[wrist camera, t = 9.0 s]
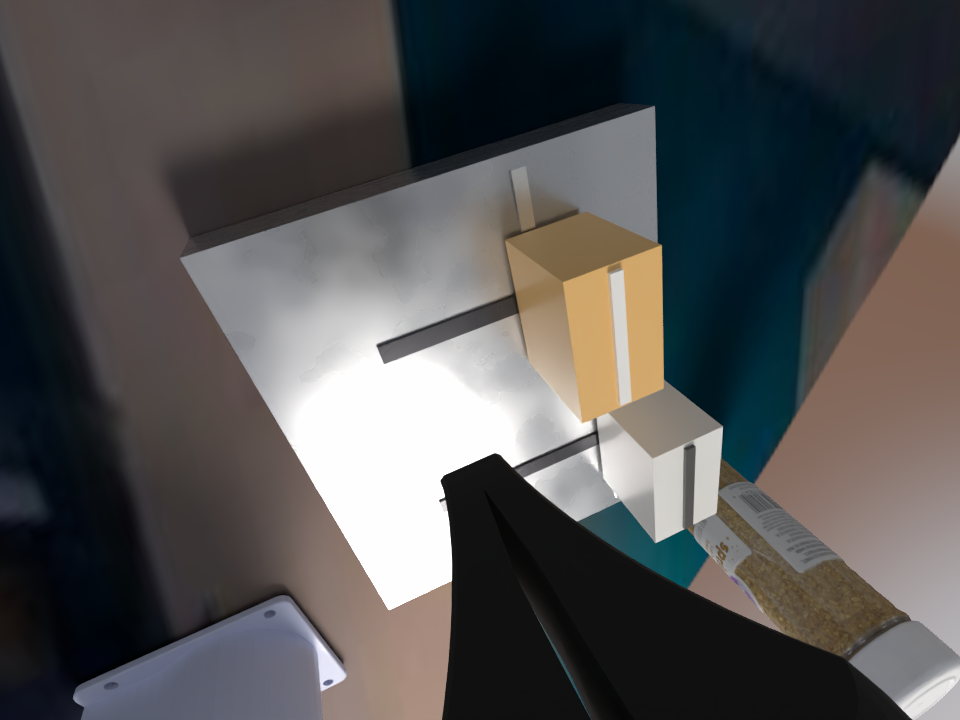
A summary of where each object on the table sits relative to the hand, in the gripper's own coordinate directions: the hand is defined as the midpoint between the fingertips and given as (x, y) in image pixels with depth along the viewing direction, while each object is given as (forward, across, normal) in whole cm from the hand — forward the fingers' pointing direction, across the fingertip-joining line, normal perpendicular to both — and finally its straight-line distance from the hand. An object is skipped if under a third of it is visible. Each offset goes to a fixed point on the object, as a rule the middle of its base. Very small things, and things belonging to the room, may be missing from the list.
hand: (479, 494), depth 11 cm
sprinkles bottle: (+10, -13, +16) cm, 23 cm away
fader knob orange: (+7, -6, 0) cm, 9 cm away
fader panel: (+9, -3, +4) cm, 11 cm away
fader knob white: (+7, -8, +8) cm, 13 cm away
